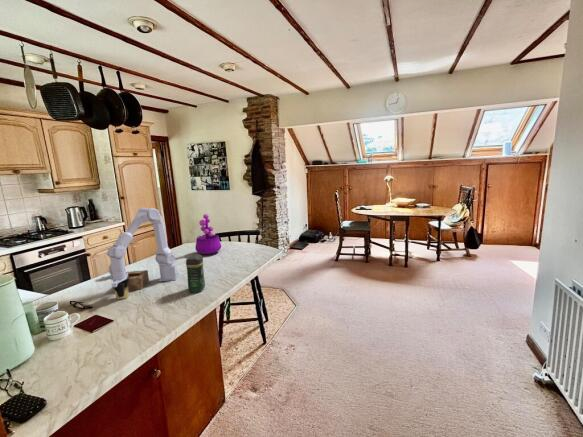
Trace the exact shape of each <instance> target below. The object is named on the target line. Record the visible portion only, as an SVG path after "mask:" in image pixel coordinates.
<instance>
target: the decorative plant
mask: <svg viewBox="0 0 583 437" xmlns="http://www.w3.org/2000/svg"><path fill="white" fill-rule="evenodd" d="M202 218H203V219H201V220H200V221H199V222H198V223H199V226H201V227H200V231H201V232H203V234H202V235H199V236H197V237H196V240H195V251H196V252H197V253H198V254H200V255H212V254H215V253H217V252H219V251H220V250H221V249H222V243H221V240H220V237H219V235H218V234H214V233H213V231H214V226H209V223H211V219H210V218H209V215H208V214H207V213H204V214H203V216H202Z"/></svg>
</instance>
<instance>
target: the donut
mask: <svg viewBox="0 0 583 437" xmlns="http://www.w3.org/2000/svg"><path fill="white" fill-rule="evenodd" d="M108 266H109V267H108V272H109V275H111V276H112V277H113V273H112V266H111V263H110V264H109V265H108Z"/></svg>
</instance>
